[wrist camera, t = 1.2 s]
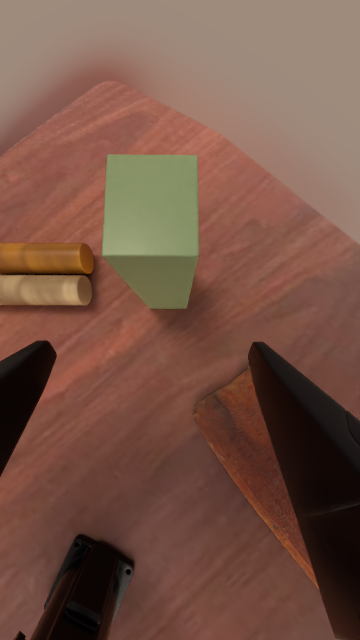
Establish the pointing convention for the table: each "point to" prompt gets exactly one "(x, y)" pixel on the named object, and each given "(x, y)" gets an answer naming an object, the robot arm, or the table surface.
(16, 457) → the table surface
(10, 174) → the table surface
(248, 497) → the wooden tablet
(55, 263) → the rods
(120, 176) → the bar
